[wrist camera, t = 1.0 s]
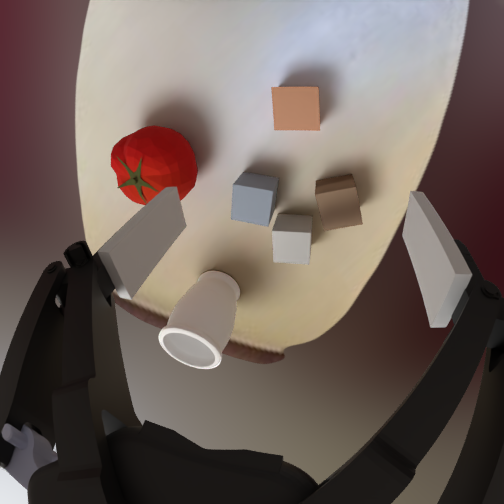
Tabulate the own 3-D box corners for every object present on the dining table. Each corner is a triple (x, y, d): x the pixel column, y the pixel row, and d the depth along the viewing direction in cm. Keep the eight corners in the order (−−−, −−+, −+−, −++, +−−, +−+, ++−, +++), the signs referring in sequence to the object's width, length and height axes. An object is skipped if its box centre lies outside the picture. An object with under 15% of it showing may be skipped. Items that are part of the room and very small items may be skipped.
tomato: (153, 105, 34) (107, 117, 25) (223, 147, 35) (191, 170, 27) (129, 164, 40) (88, 188, 32) (189, 205, 42) (157, 239, 34)
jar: (226, 314, 55) (200, 375, 43) (184, 285, 53) (149, 343, 41) (257, 289, 49) (234, 358, 37) (210, 254, 47) (172, 318, 35)
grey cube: (277, 213, 39) (271, 230, 36) (312, 215, 38) (310, 232, 34) (279, 242, 42) (273, 262, 38) (311, 244, 41) (309, 264, 37)
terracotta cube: (278, 87, 29) (271, 87, 25) (318, 87, 28) (318, 86, 24) (280, 124, 32) (274, 130, 28) (319, 124, 31) (319, 130, 27)
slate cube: (243, 171, 37) (233, 184, 33) (279, 177, 36) (273, 191, 32) (241, 203, 40) (230, 219, 36) (274, 209, 39) (268, 226, 35)
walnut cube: (316, 180, 35) (315, 194, 31) (351, 173, 33) (356, 187, 29) (324, 213, 38) (324, 230, 34) (358, 207, 36) (362, 224, 32)
